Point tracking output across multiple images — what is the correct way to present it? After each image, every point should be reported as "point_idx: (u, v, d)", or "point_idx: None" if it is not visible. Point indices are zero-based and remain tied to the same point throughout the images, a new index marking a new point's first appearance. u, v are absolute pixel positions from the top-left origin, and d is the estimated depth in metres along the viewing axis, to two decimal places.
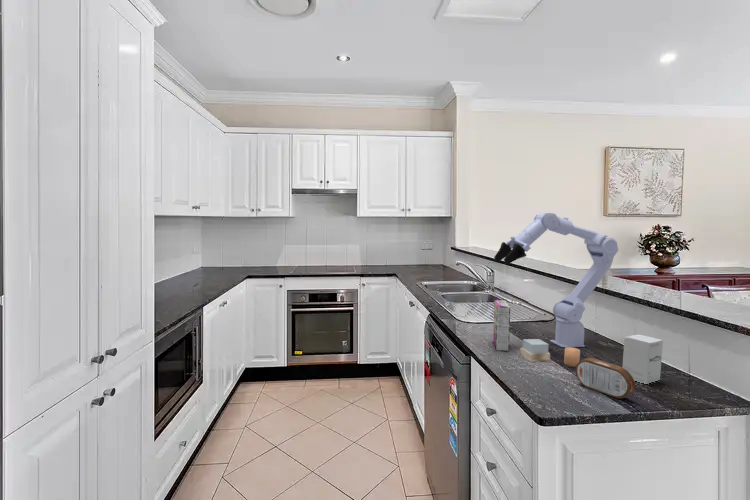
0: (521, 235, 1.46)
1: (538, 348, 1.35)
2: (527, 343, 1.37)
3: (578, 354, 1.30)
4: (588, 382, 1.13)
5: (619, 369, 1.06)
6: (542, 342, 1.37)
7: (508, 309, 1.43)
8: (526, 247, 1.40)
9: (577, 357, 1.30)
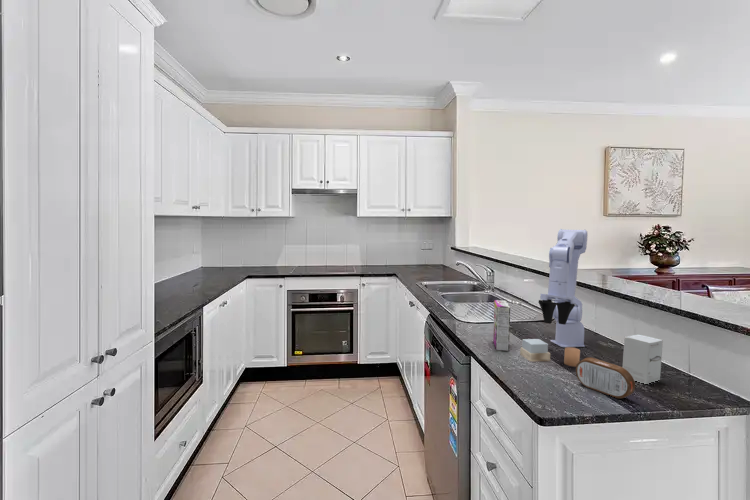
0: (567, 289, 1.31)
1: (538, 348, 1.35)
2: (526, 343, 1.37)
3: (578, 354, 1.30)
4: (588, 382, 1.13)
5: (619, 369, 1.06)
6: (542, 342, 1.37)
7: (508, 309, 1.43)
8: None
9: (577, 357, 1.30)
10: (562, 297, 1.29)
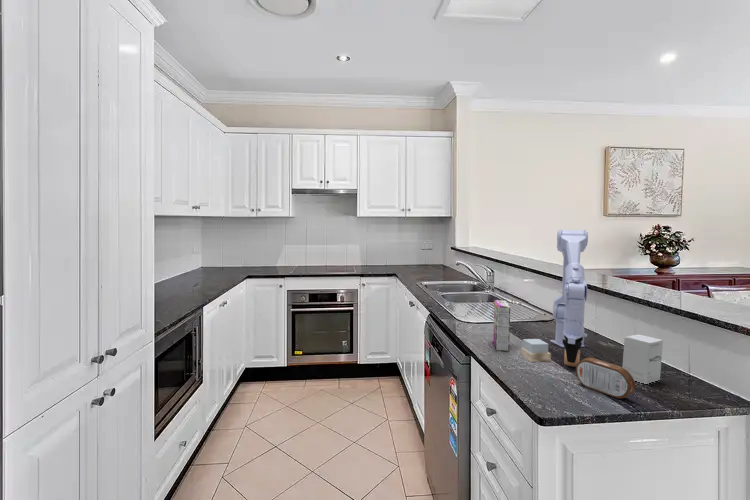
0: None
1: (538, 348, 1.34)
2: (526, 343, 1.37)
3: (578, 354, 1.30)
4: (588, 382, 1.13)
5: (619, 369, 1.06)
6: (542, 342, 1.37)
7: (508, 309, 1.43)
8: None
9: (577, 357, 1.30)
10: (582, 335, 1.29)
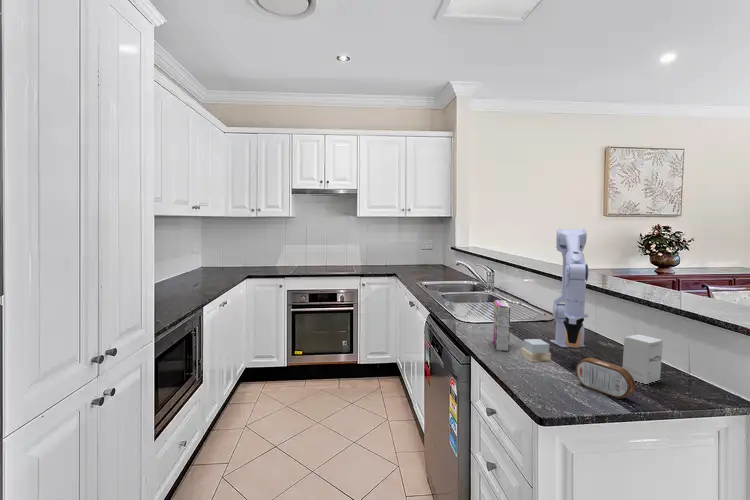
0: None
1: (539, 348, 1.34)
2: (527, 344, 1.37)
3: (579, 335, 1.30)
4: (588, 382, 1.13)
5: (619, 369, 1.06)
6: (543, 342, 1.37)
7: (508, 309, 1.43)
8: None
9: (578, 338, 1.29)
10: (583, 316, 1.28)
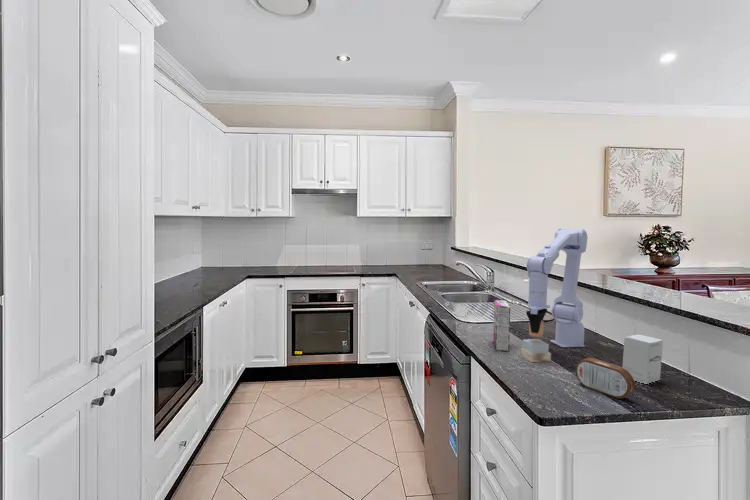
0: None
1: (539, 348, 1.34)
2: (527, 344, 1.37)
3: (542, 325, 1.35)
4: (588, 382, 1.13)
5: (619, 369, 1.06)
6: (542, 342, 1.37)
7: (508, 309, 1.43)
8: None
9: (541, 328, 1.35)
10: (545, 307, 1.34)
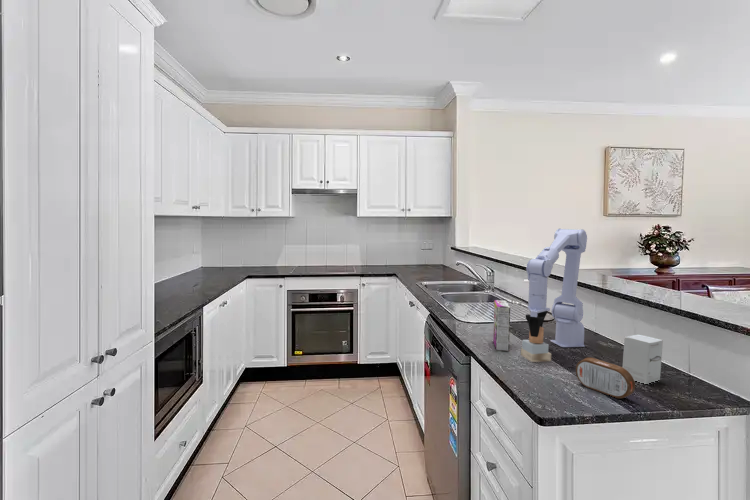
0: None
1: (539, 348, 1.34)
2: (527, 344, 1.36)
3: (542, 331, 1.35)
4: (588, 382, 1.13)
5: (619, 369, 1.06)
6: None
7: (508, 309, 1.43)
8: None
9: (541, 334, 1.35)
10: (545, 310, 1.34)
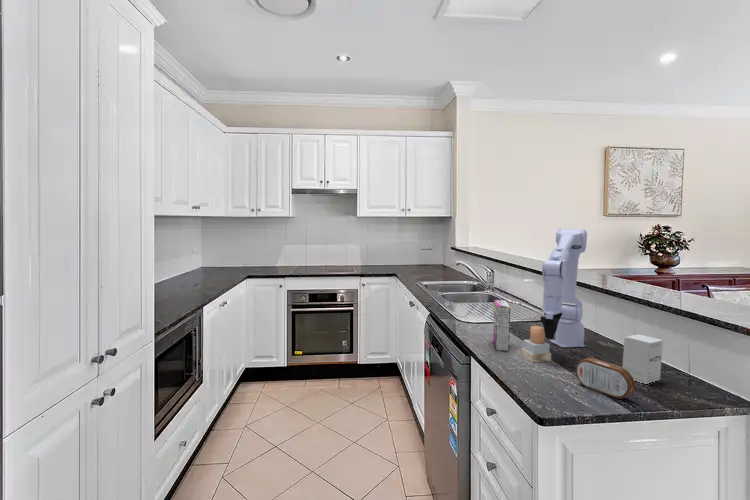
0: None
1: (540, 348, 1.34)
2: (528, 344, 1.37)
3: (543, 332, 1.35)
4: (588, 382, 1.13)
5: (619, 369, 1.06)
6: None
7: (508, 309, 1.43)
8: None
9: (542, 335, 1.35)
10: (560, 311, 1.32)
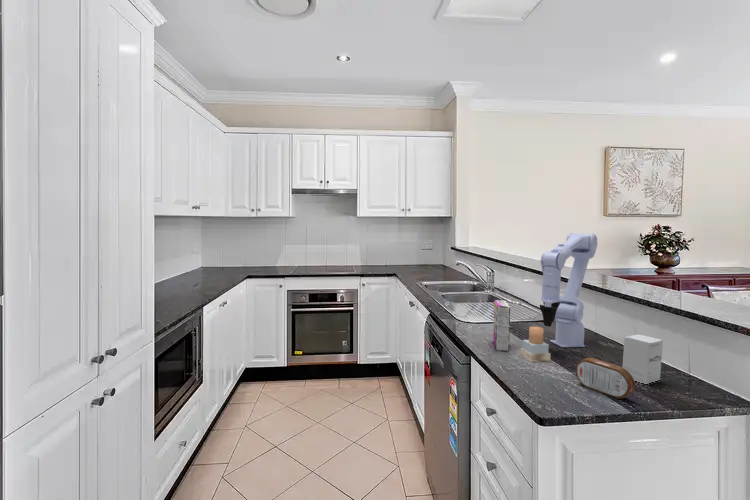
0: None
1: (539, 349, 1.34)
2: (527, 344, 1.37)
3: (542, 332, 1.35)
4: (588, 382, 1.13)
5: (619, 369, 1.06)
6: None
7: (508, 309, 1.43)
8: None
9: (541, 335, 1.35)
10: (558, 300, 1.40)
